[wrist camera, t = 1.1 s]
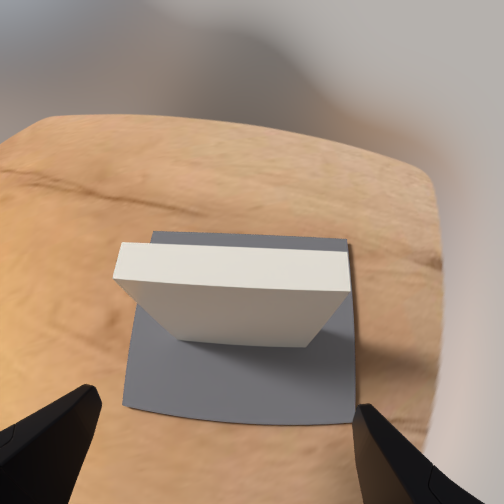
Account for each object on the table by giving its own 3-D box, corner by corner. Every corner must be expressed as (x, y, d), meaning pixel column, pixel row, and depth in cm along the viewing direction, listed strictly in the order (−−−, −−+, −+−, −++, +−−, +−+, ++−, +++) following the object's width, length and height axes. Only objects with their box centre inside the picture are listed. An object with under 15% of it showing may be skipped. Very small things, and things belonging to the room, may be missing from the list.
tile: (305, 347, 22) (350, 291, 12) (177, 339, 23) (112, 278, 12) (305, 323, 23) (347, 248, 13) (180, 316, 23) (122, 239, 13)
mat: (352, 421, 20) (354, 422, 19) (125, 405, 20) (122, 405, 20) (345, 242, 27) (346, 239, 27) (155, 234, 28) (153, 231, 27)
